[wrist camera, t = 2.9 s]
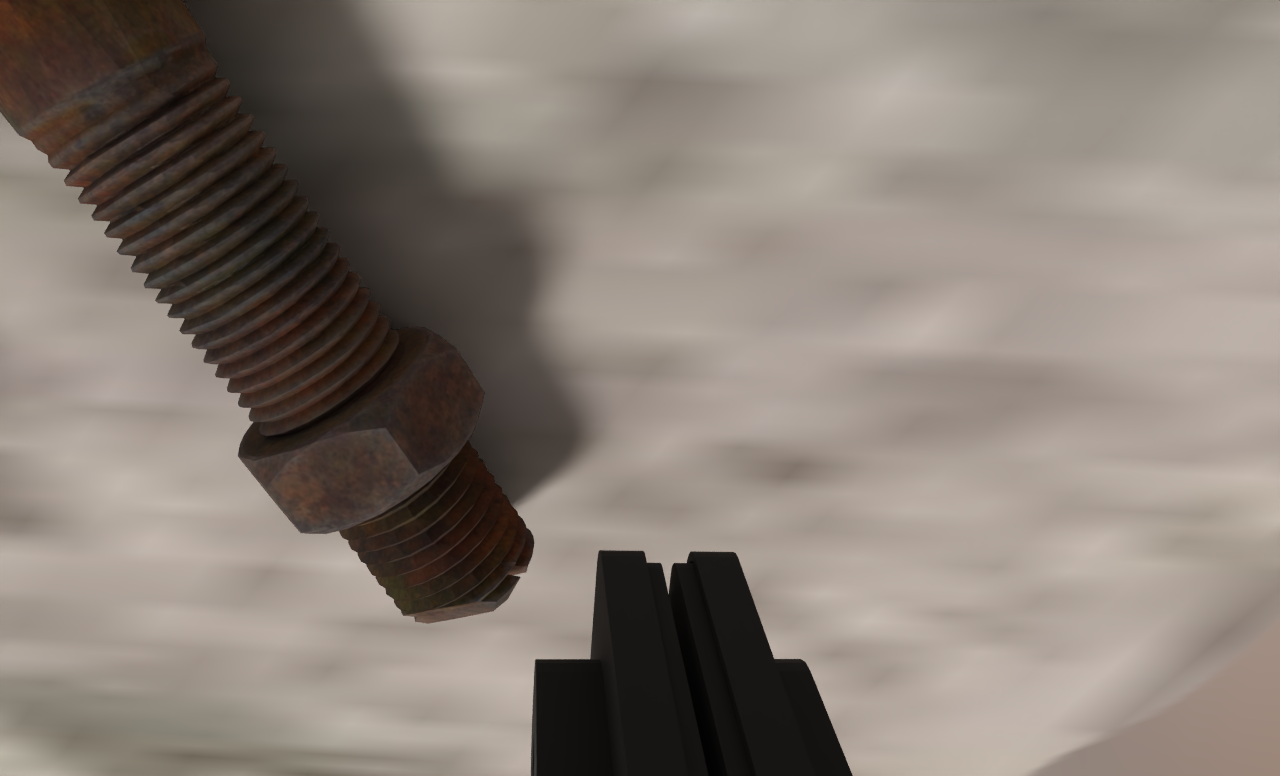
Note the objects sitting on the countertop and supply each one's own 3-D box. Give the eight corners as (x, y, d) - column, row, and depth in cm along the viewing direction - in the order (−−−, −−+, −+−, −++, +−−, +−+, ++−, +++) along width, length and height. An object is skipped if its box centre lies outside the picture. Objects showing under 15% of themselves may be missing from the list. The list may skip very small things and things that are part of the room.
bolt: (460, 507, 25) (49, -80, 18) (621, 484, 22) (202, -214, 16) (323, 692, 21) (-270, 15, 14) (501, 694, 18) (-137, -144, 11)
